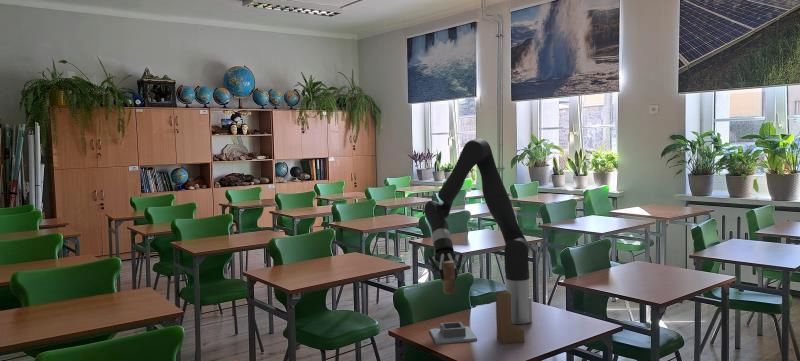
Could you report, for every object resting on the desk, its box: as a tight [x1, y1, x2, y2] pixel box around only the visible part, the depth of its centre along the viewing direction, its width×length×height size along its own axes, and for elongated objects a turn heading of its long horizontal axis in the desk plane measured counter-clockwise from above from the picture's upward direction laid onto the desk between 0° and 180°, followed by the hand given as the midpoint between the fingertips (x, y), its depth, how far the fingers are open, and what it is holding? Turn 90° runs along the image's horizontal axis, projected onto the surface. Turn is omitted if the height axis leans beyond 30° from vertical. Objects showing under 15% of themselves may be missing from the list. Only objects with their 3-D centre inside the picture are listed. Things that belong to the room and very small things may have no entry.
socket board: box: [429, 321, 478, 345], centre depth 220 cm, size 15×14×4 cm
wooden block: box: [495, 290, 525, 345], centre depth 211 cm, size 9×4×18 cm, turn 97°
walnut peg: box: [442, 261, 456, 295], centre depth 227 cm, size 4×4×12 cm
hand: (449, 279), depth 226 cm, fingers closed on walnut peg, 4 cm apart
